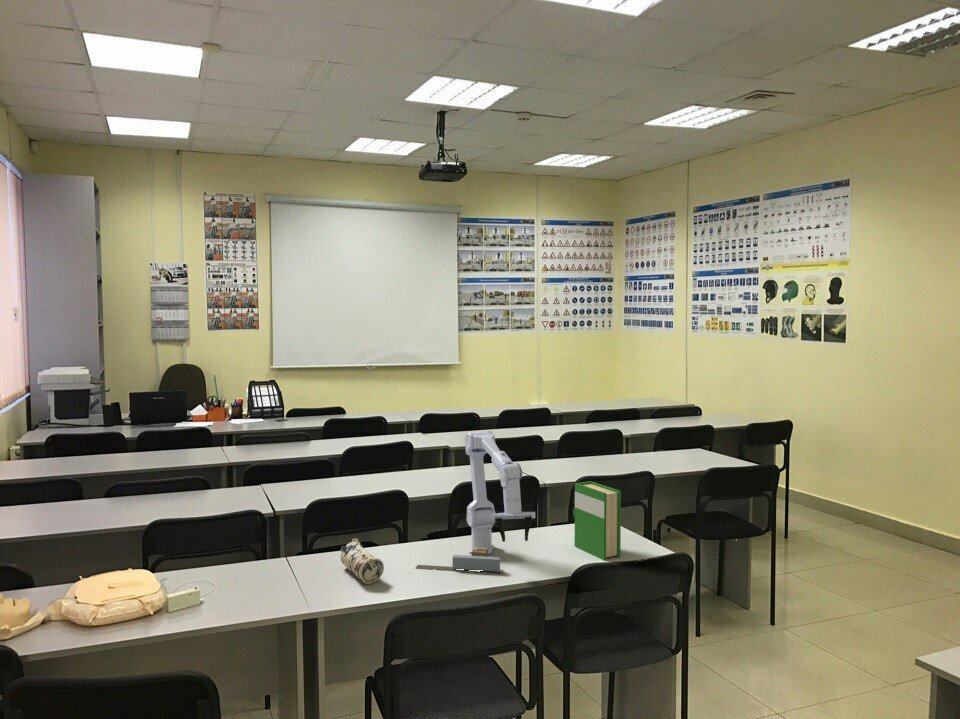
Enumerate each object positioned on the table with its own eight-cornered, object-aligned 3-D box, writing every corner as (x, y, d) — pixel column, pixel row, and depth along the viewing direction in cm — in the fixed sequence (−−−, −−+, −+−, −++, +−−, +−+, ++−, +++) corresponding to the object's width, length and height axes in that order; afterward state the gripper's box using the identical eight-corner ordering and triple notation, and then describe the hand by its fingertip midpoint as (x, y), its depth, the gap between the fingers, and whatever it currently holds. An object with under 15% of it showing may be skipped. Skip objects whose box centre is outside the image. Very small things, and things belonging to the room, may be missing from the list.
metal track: (417, 565, 250) (417, 564, 250) (503, 570, 245) (503, 569, 245) (415, 568, 247) (415, 567, 247) (501, 573, 242) (501, 573, 242)
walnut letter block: (474, 561, 255) (474, 546, 254) (488, 561, 254) (488, 547, 254) (471, 566, 250) (471, 551, 249) (485, 567, 249) (485, 552, 248)
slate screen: (454, 566, 248) (454, 554, 247) (500, 568, 245) (500, 557, 244) (452, 568, 245) (452, 557, 245) (499, 571, 242) (499, 559, 242)
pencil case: (339, 568, 248) (338, 540, 248) (362, 563, 252) (362, 536, 252) (361, 588, 229) (360, 558, 229) (386, 583, 233) (385, 554, 233)
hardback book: (620, 557, 258) (620, 491, 257) (603, 560, 255) (604, 493, 253) (590, 543, 274) (590, 481, 272) (574, 546, 270) (574, 483, 269)
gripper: (489, 502, 240) (491, 543, 239) (532, 500, 237) (535, 542, 236) (492, 499, 247) (495, 540, 245) (534, 497, 244) (537, 538, 243)
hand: (515, 540), depth 241 cm, fingers open, 7 cm apart
